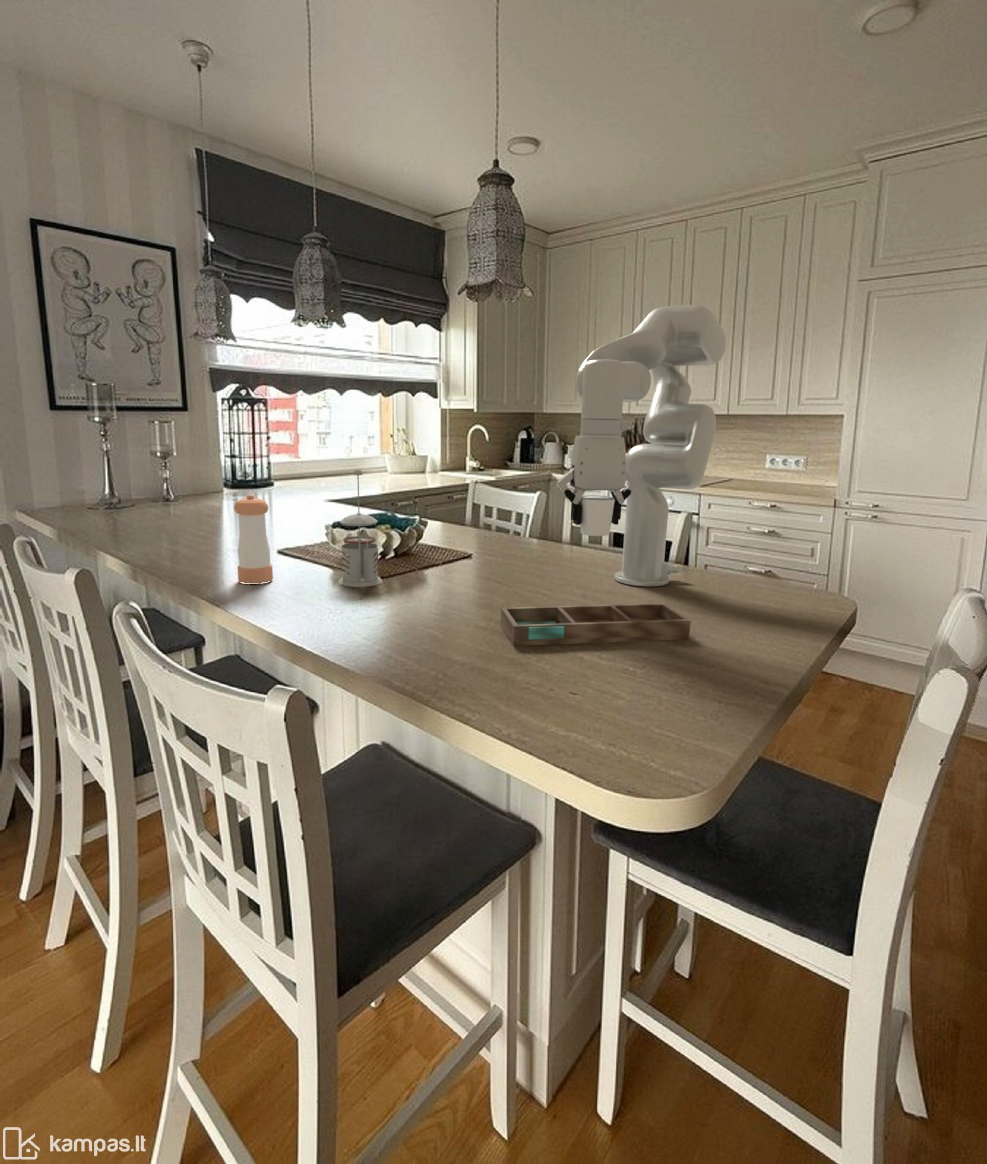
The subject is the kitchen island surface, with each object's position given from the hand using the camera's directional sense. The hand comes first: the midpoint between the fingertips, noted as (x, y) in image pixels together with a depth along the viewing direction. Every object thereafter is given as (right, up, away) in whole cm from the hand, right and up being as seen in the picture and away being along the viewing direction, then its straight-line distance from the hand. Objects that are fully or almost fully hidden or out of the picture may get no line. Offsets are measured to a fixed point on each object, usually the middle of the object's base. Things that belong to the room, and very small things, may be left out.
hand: (595, 523), depth 130 cm
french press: (-49, -12, +21) cm, 55 cm away
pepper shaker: (-73, -11, +20) cm, 76 cm away
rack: (-2, -20, -10) cm, 23 cm away
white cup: (0, -2, +1) cm, 2 cm away
